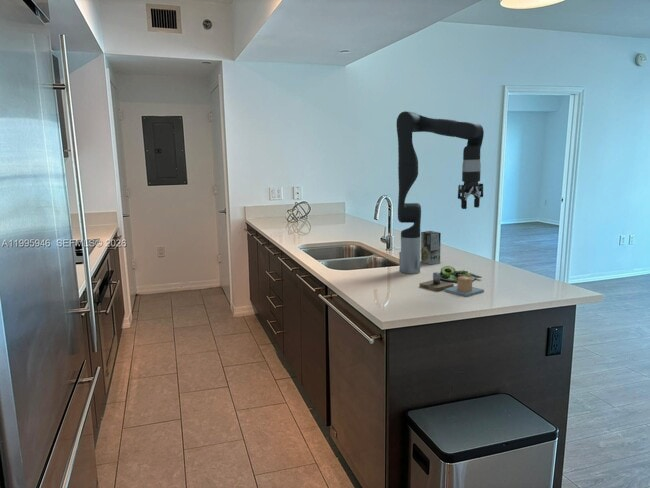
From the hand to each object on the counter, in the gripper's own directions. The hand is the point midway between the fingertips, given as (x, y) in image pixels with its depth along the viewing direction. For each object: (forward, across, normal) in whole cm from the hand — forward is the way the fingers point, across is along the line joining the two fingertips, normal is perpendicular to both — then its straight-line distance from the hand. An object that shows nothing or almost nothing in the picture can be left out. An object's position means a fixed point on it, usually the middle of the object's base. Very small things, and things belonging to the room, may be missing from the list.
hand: (470, 208), depth 206 cm
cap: (+31, -17, -11) cm, 37 cm away
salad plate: (+33, -2, +6) cm, 33 cm away
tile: (+32, -17, -11) cm, 38 cm away
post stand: (+32, -20, +1) cm, 38 cm away
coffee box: (+32, +15, +36) cm, 51 cm away
